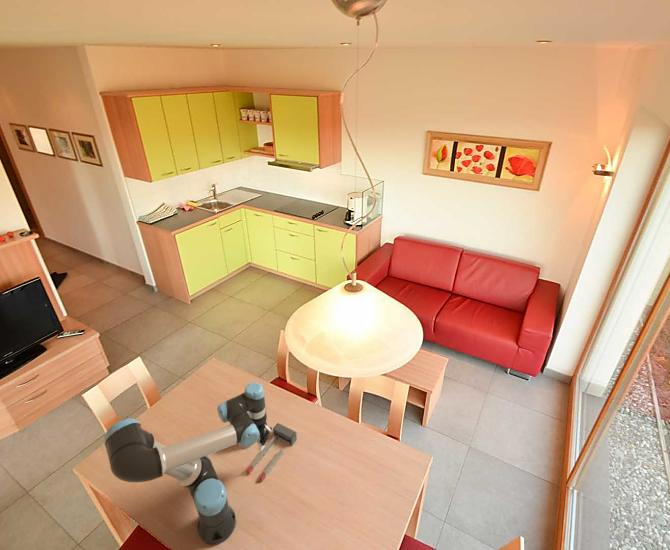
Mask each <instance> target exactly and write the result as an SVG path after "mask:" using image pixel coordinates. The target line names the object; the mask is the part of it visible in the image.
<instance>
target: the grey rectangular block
mask: <svg viewBox="0 0 670 550" xmlns="http://www.w3.org/2000/svg"><path fill="white" fill-rule="evenodd" d="M272 432H273V433H272V434H273V436H274V435H275V434H278V435H280V436H282V437H284V438H286V439H288V440H290V441H291V444H290V446H293V445H294V444H295V442H297V438H298V437H297V432H296V431H294V430H293V429H291V428H288V426H285V425H283V424H281V423H279V422H277V423H276V424H275V426H273V428H272Z"/></svg>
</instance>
